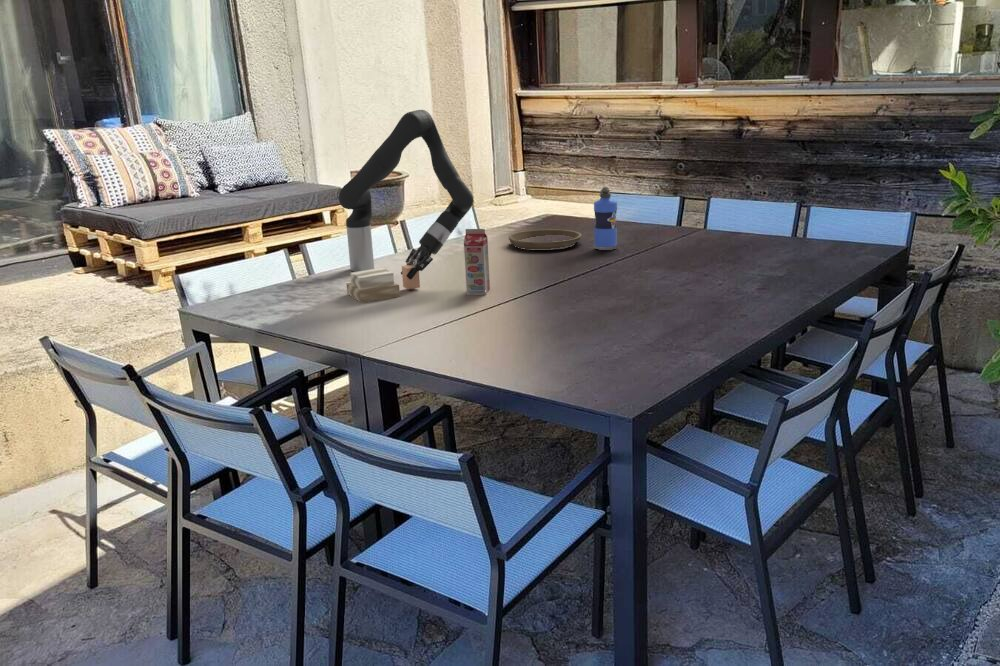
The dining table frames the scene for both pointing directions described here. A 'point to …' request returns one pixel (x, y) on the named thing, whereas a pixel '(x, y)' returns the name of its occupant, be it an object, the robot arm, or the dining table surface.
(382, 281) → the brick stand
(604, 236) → the water bottle
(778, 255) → the dining table surface
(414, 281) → the terracotta brick
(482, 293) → the juice carton
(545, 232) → the plant saucer
